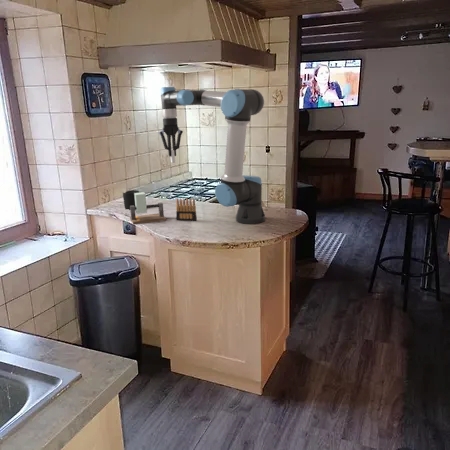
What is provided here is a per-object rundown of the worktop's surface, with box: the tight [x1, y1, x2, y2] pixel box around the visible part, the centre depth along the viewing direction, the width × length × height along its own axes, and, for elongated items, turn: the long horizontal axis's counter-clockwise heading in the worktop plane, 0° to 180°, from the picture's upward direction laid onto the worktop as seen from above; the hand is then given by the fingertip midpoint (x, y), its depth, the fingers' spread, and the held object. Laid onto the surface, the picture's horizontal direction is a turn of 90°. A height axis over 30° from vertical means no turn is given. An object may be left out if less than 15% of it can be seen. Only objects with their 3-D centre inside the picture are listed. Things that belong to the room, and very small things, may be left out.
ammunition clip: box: [175, 197, 198, 222], centre depth 225 cm, size 11×2×12 cm, turn 77°
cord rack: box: [129, 202, 167, 225], centre depth 229 cm, size 12×17×8 cm
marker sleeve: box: [134, 191, 148, 214], centre depth 227 cm, size 5×5×10 cm
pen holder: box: [122, 189, 140, 211], centre depth 256 cm, size 9×9×10 cm
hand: (172, 162), depth 234 cm, fingers closed
